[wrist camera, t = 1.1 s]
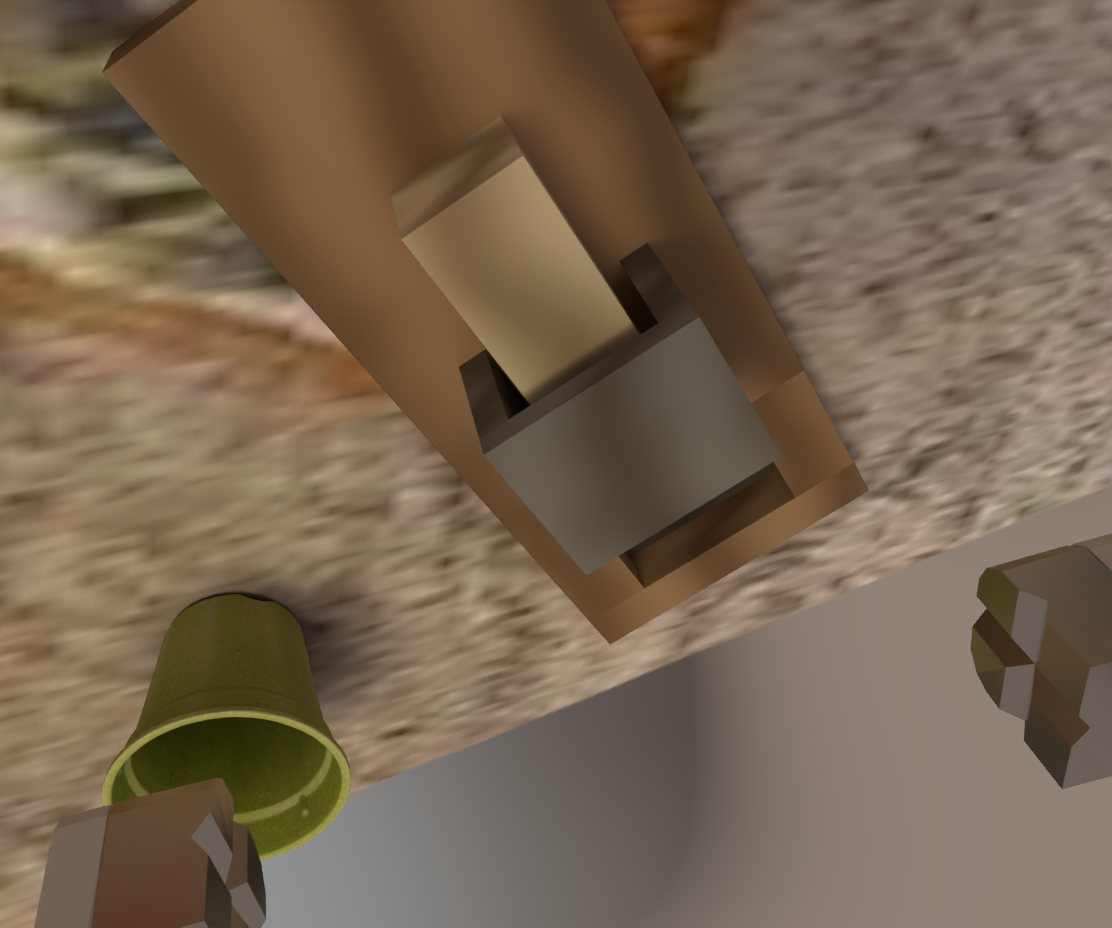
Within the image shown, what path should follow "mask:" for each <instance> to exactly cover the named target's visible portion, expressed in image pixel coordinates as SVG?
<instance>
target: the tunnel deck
mask: <svg viewBox="0 0 1112 928" xmlns="http://www.w3.org/2000/svg"><path fill="white" fill-rule="evenodd" d="M102 73H103V75H104V76H105V77H106V78H107V79H108V80H109V81H110V82H111V84H112V85H113V86H114V87H115V88H116V89H117V90H118V91H119V93H120V94H121V95H122V96H123V97H124V98H125V99H126V100H127V102H128V103H129V104H130V105H131V106H132V107H133V108H134V109H135V111H136V112H137V113H138V114H139V115H140V116H141V117H142V118H143V120H144V121H145V122H146V123H147V124H148V125H149V126H150V127H151V129H152V130H153V131H154V132H155V133H156V134H157V135H158V136H159V138H160V139H161V140H162V141H163V142H164V143H165V144H166V145H167V147H168V148H169V149H170V150H171V151H172V152H173V153H174V154H175V156H176V157H177V158H178V159H179V160H180V161H181V162H182V163H183V165H184V166H185V167H186V168H187V169H188V170H189V171H190V172H191V174H192V175H193V176H194V177H195V178H196V179H197V180H198V181H199V183H200V184H201V185H202V186H203V187H204V188H205V189H206V190H207V192H208V193H209V194H210V195H211V196H212V197H213V198H214V199H215V201H216V202H217V203H218V204H219V205H220V206H221V207H222V208H223V210H224V211H225V212H226V213H227V214H228V215H229V216H230V217H231V219H232V220H233V221H234V222H235V223H236V224H237V225H238V226H239V228H240V229H241V230H242V231H243V232H244V233H245V234H246V235H247V237H248V238H249V239H250V240H251V241H252V242H253V243H254V244H255V246H256V247H257V248H258V249H259V250H260V251H261V252H262V253H263V255H264V256H265V257H266V258H267V259H268V260H269V261H270V262H271V264H272V265H273V266H274V267H275V268H276V269H277V270H278V271H279V272H280V274H281V275H282V276H283V277H284V278H285V279H286V280H287V281H288V283H289V284H290V285H291V286H292V287H293V288H294V289H295V290H296V292H297V293H298V294H299V295H300V296H301V297H302V298H303V299H304V301H305V302H306V303H307V304H308V305H309V306H310V307H311V308H312V310H313V311H314V312H315V313H316V314H317V315H318V316H319V317H320V319H321V320H322V321H323V322H324V323H325V324H326V325H327V326H328V328H329V329H330V330H331V331H332V332H333V333H334V334H335V335H336V337H337V338H338V339H339V340H340V341H341V342H342V343H343V344H344V346H345V347H346V348H347V349H348V350H349V351H350V352H351V353H352V355H353V356H354V357H355V358H356V359H357V360H358V361H359V362H360V364H361V365H362V366H363V367H364V368H365V369H366V370H367V371H368V373H369V374H370V375H371V376H372V377H373V378H374V379H375V380H376V382H377V383H378V384H379V385H380V386H381V387H382V388H383V389H384V391H385V392H386V393H387V394H388V395H389V396H390V397H391V398H392V400H393V401H394V402H395V403H396V404H397V405H398V406H399V407H400V409H401V410H402V411H403V412H404V413H405V414H406V415H407V416H408V418H409V419H410V420H411V421H412V422H413V423H414V424H415V425H416V427H417V428H418V429H419V430H420V431H421V432H422V433H423V434H424V436H425V437H426V438H427V439H428V440H429V441H430V442H431V443H432V445H433V446H434V447H435V448H436V449H437V450H438V451H439V452H440V454H441V455H442V456H443V457H444V458H445V459H446V460H447V461H448V463H449V464H450V465H451V466H452V467H453V468H454V469H455V470H456V472H457V473H458V474H459V475H460V476H461V477H462V478H463V479H464V481H465V482H466V483H467V484H468V485H469V486H470V487H471V488H472V490H473V491H474V492H475V493H476V494H477V495H478V496H479V497H480V499H481V500H482V501H483V502H484V503H485V504H486V505H487V506H488V508H489V509H490V510H491V511H492V512H493V513H494V514H495V515H496V517H497V518H498V519H499V520H500V521H501V522H502V523H503V524H504V526H505V527H506V528H507V529H508V530H509V531H510V532H511V533H512V535H513V536H514V537H515V538H516V539H517V540H518V541H519V542H520V544H521V545H522V546H523V547H524V548H525V549H526V550H527V551H528V553H529V554H530V555H531V556H532V557H533V558H534V559H535V560H536V562H537V563H538V564H539V565H540V566H541V567H542V568H543V569H544V571H545V572H546V573H547V574H548V575H549V576H550V577H551V578H552V580H553V581H554V582H555V583H556V584H557V585H558V586H559V587H560V589H561V590H562V591H563V592H564V593H565V594H566V595H567V596H568V598H569V599H570V600H571V601H572V602H573V603H574V604H575V605H576V607H577V608H578V609H579V610H580V611H581V612H582V613H583V614H584V616H585V617H586V618H587V619H588V620H589V621H590V622H591V623H592V625H593V626H594V627H595V628H596V629H597V630H598V631H599V632H600V634H601V635H602V636H603V637H604V638H605V639H606V640H607V641H608V643H609V644H612V643H613V642H615V641H617V640H619V639H620V638H622V637H624V636H625V635H627V634H629V633H630V632H632V631H634V630H635V629H637V628H639V627H640V626H642V625H644V624H645V623H647V622H649V621H650V620H652V619H654V618H656V617H657V616H659V615H661V614H662V613H664V612H666V611H667V610H669V609H671V608H672V607H674V606H676V605H677V604H679V603H681V602H682V601H684V600H686V599H687V598H689V597H691V596H693V595H694V594H696V593H698V592H699V591H701V590H703V589H704V588H706V587H708V586H709V585H711V584H713V583H714V582H716V581H718V580H719V579H721V578H723V577H724V576H726V575H728V574H729V573H731V572H733V571H735V570H736V569H738V568H740V567H741V566H743V565H745V564H746V563H748V562H750V561H751V560H753V559H755V558H756V557H758V556H760V555H761V554H763V553H765V552H766V551H768V550H770V549H772V548H773V547H775V546H777V545H778V544H780V543H782V542H783V541H785V540H787V539H788V538H790V537H792V536H793V535H795V534H797V533H798V532H800V531H802V530H803V529H805V528H807V527H808V526H810V525H812V524H814V523H815V522H817V521H819V520H820V519H822V518H824V517H825V516H827V515H829V514H830V513H832V512H834V511H835V510H837V509H839V508H840V507H842V506H844V505H845V504H847V503H849V502H851V501H852V500H854V499H856V498H857V497H859V496H861V495H862V494H864V493H866V492H867V491H869V490H868V488H867V486H866V484H865V482H864V480H863V478H862V477H861V475H860V473H859V471H858V469H857V467H856V465H855V464H854V462H853V460H852V458H851V456H850V454H849V452H848V451H847V449H846V447H845V445H844V443H843V441H842V439H841V438H840V436H839V434H838V432H837V430H836V428H835V426H834V425H833V423H832V421H831V419H830V417H829V415H828V413H827V412H826V410H825V408H824V406H823V404H822V402H821V400H820V399H819V397H818V395H817V393H816V391H815V389H814V387H813V385H812V384H811V382H810V380H809V378H808V376H807V374H806V372H805V371H804V369H803V367H802V365H801V363H800V361H799V359H798V358H797V356H796V354H795V352H794V350H793V348H792V346H791V345H790V343H789V341H788V339H787V337H786V335H785V333H784V332H783V330H782V328H781V326H780V324H779V322H778V320H777V319H776V317H775V315H774V313H773V311H772V309H771V307H770V306H769V304H768V302H767V300H766V298H765V296H764V294H763V292H762V291H761V289H760V287H759V285H758V283H757V281H756V279H755V278H754V276H753V274H752V272H751V270H750V268H749V266H748V265H747V263H746V261H745V259H744V257H743V255H742V253H741V252H740V250H739V248H738V246H737V244H736V242H735V240H734V239H733V237H732V235H731V233H730V231H729V229H728V227H727V226H726V224H725V222H724V220H723V218H722V216H721V214H720V213H719V211H718V209H717V207H716V205H715V203H714V201H713V199H712V198H711V196H710V194H709V192H708V190H707V188H706V186H705V185H704V183H703V181H702V179H701V177H700V175H699V173H698V172H697V170H696V168H695V166H694V164H693V162H692V160H691V159H690V157H689V155H688V153H687V151H686V149H685V147H684V146H683V144H682V142H681V140H680V138H679V136H678V134H677V133H676V131H675V129H674V127H673V125H672V123H671V121H670V120H669V118H668V116H667V114H666V112H665V110H664V108H663V107H662V105H661V103H660V101H659V99H658V97H657V95H656V93H655V92H654V90H653V88H652V86H651V84H650V82H649V80H648V79H647V77H646V75H645V73H644V71H643V69H642V67H641V66H640V64H639V62H638V60H637V58H636V56H635V54H634V53H633V51H632V49H631V47H630V45H629V43H628V41H627V40H626V38H625V36H624V34H623V32H622V30H621V28H620V27H619V25H618V23H617V21H616V19H615V17H614V15H613V14H612V12H611V10H610V8H609V6H608V4H607V2H606V0H180V1H179V2H177V3H176V4H175V5H173V6H172V7H171V8H169V9H168V10H167V11H165V12H164V13H163V14H161V15H160V16H159V17H157V18H156V19H155V20H154V21H152V22H151V23H150V24H148V25H147V26H146V27H144V28H143V29H142V30H140V31H139V32H138V33H136V34H135V35H134V36H132V37H131V38H130V39H129V40H127V41H126V42H125V43H123V44H122V45H121V46H119V47H118V48H117V49H115V50H114V51H113V52H112V53H111V55H110V58H109V60H108V62H107V64H106V66H105V68H104V70H103V72H102ZM499 116H501V117H502V119H503V120H504V122H505V123H506V125H507V126H508V128H509V129H510V131H511V132H512V134H513V136H514V137H515V139H516V140H517V142H518V143H519V145H520V146H521V148H522V149H523V151H524V153H525V154H526V156H527V157H528V159H529V160H530V162H531V163H532V165H533V166H534V168H535V169H536V171H537V173H538V174H539V176H540V177H541V179H542V180H543V182H544V183H545V185H546V186H547V188H548V189H549V191H550V193H551V194H552V196H553V197H554V199H555V200H556V202H557V203H558V205H559V206H560V208H561V210H562V211H563V213H564V214H565V216H566V217H567V219H568V220H569V222H570V223H571V225H572V226H573V228H574V230H575V231H576V233H577V234H578V236H579V237H580V239H581V240H582V242H583V243H584V245H585V247H586V248H587V250H588V251H589V253H590V254H591V256H592V257H593V259H594V260H595V262H596V263H597V265H598V267H599V268H600V270H601V271H602V273H603V274H604V276H605V277H606V279H607V280H608V282H609V283H610V285H611V287H612V288H613V290H614V291H615V293H616V294H617V296H618V297H619V299H620V300H621V302H622V304H623V305H624V307H625V308H626V310H627V311H628V313H629V314H630V316H631V317H632V319H633V320H634V322H635V324H636V325H637V327H638V328H639V330H640V331H641V333H642V334H641V335H639V336H638V337H636V338H635V339H633V340H632V341H630V342H628V343H627V344H625V345H624V346H622V347H621V348H619V349H618V350H616V351H614V352H613V353H611V354H610V355H608V356H607V357H605V358H604V359H602V360H600V361H599V362H597V363H596V364H594V365H593V366H591V367H590V368H588V369H587V370H585V371H583V372H582V373H580V374H579V375H577V376H576V377H574V378H573V379H571V380H569V381H568V382H566V383H565V384H563V385H562V386H560V387H559V388H557V389H555V390H554V391H552V392H551V393H549V394H548V395H546V396H545V397H543V398H541V399H540V400H538V401H537V402H535V403H534V404H532V405H530V404H529V403H528V401H527V400H526V399H525V397H524V396H523V395H522V394H521V392H520V391H519V390H518V388H517V387H516V386H515V385H514V383H513V382H512V381H511V379H510V378H509V377H508V376H507V374H506V373H505V372H504V370H503V369H502V368H501V367H500V365H499V364H498V363H497V361H496V360H495V359H494V358H493V356H492V355H491V354H490V352H489V351H488V350H487V349H486V347H485V346H484V345H483V343H482V342H481V341H480V340H479V338H478V337H477V336H476V334H475V333H474V332H473V331H472V329H471V328H470V327H469V326H468V324H467V323H466V322H465V320H464V319H463V318H462V317H461V315H460V314H459V313H458V311H457V310H456V309H455V308H454V306H453V305H452V304H451V302H450V301H449V300H448V299H447V297H446V296H445V295H444V293H443V292H442V291H441V290H440V288H439V287H438V286H437V284H436V283H435V282H434V281H433V279H432V278H431V277H430V275H429V274H428V273H427V272H426V270H425V269H424V268H423V266H422V265H421V264H420V263H419V261H418V260H417V259H416V257H415V256H414V255H413V254H412V252H411V251H410V250H409V249H408V247H407V246H406V245H405V243H404V242H403V241H402V240H401V236H400V232H399V228H398V224H397V219H396V215H395V211H394V207H393V203H392V199H391V194H390V192H392V191H393V190H394V189H396V188H397V187H399V186H400V185H402V184H403V183H404V182H406V181H407V180H409V179H410V178H412V177H413V176H414V175H416V174H417V173H419V172H420V171H422V170H423V169H425V168H426V167H427V166H429V165H430V164H432V163H433V162H435V161H436V160H437V159H439V158H440V157H442V156H443V155H445V154H446V153H447V152H449V151H450V150H452V149H453V148H455V147H456V146H457V145H459V144H460V143H462V142H463V141H465V140H466V139H468V138H469V137H470V136H472V135H473V134H475V133H476V132H478V131H479V130H480V129H482V128H483V127H485V126H486V125H488V124H489V123H490V122H492V121H493V120H495V119H496V118H498V117H499Z"/></svg>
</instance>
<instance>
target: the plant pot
mask: <svg viewBox="0 0 1112 928" xmlns="http://www.w3.org/2000/svg"><path fill="white" fill-rule="evenodd" d="M214 778H220V779H223V781H224V783H225V785H226V786H227V788H228V790H229V792H230V794H231V796H232V797H233V799H234V802H233V821H235V822H237V823H239V824H242V825H244V826H246V827H248V829H249V832H250V834H251V836H252V838H253V840H254V842H255V845H256V848H257V852H258V855H259V858H260V861H264V860H266V859H270V858H272V857H275V856H278V855H281V854H284V853H286V852H289V851H291V850H294V849H296V848H298V847H300V846H302V845H304V844H305V843H307V842H309V841H310V840H312V839H313V838H315V837H316V836H317V835H318V834H319V833H321V832H322V831H323V830H324V829H326V828H327V827H328V826H329V825H330V824H331V823H332V822H333V821H334V819H335V818H336V817H337V815H338V814H339V813H340V811H341V810H342V808H343V807H344V805H345V803H346V801H347V798H348V795H349V792H350V787H351V773H350V767H349V763H348V760H347V758H346V755H345V753H344V752H343V750H342V749H341V747H340V746H339V744H338V743H337V742H336V741H335V740H334V739H333V737H332V734H331V732H330V730H329V728H328V726H327V724H326V723H325V722H324V720H323V717H322V713H321V709H320V705H319V701H318V697H317V693H316V689H315V685H314V681H313V677H312V672H311V668H310V663H309V658H308V654H307V650H306V646H305V641H304V637H303V633H302V630H301V627H300V625H299V623H298V622H297V620H296V619H295V618H294V616H293V615H292V614H291V613H290V612H289V611H288V610H286V609H285V608H284V607H282V606H281V605H279V604H277V603H275V602H272V601H259V600H254V599H251V598H248V597H245V596H242V595H240V594H230V595H222V596H216V597H212V598H209V599H206V600H203V601H200V602H198V603H196V604H194V605H192V606H190V607H189V608H187V609H186V610H184V611H183V612H182V613H181V614H180V615H179V616H178V617H177V618H176V619H175V620H174V622H173V623H172V625H171V627H170V629H169V630H168V632H167V634H166V636H165V639H164V642H163V646H162V649H161V652H160V655H159V658H158V661H157V665H156V668H155V671H154V675H153V678H152V681H151V684H150V687H149V691H148V694H147V697H146V700H145V704H144V707H143V710H142V713H141V716H140V719H139V722H138V725H137V728H136V730H135V731H134V732H133V734H132V735H131V737H130V738H129V740H128V742H127V744H126V746H125V748H124V749H123V750H122V751H121V752H120V753H119V754H118V755H117V757H116V758H115V759H114V761H113V762H112V764H111V766H110V768H109V770H108V772H107V774H106V777H105V780H104V783H103V788H102V805H103V806H107V805H111V804H114V803H116V802H120V801H124V800H128V799H132V798H136V797H141V796H145V795H149V794H153V793H157V792H161V791H165V790H169V789H173V788H177V787H181V786H185V785H190V784H194V783H198V782H202V781H206V780H210V779H214Z"/></svg>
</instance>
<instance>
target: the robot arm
mask: <svg viewBox="0 0 1112 928" xmlns="http://www.w3.org/2000/svg"><path fill="white" fill-rule="evenodd" d="M977 597H978V598H979V599H980V601H981V602H982V603H983V604H984V605H985V607H986V608H987V609H986V610H985V612H984V613H983V614H982V615H981V616H980V618H979V619H978V620H977V621H976V623H975V624H974V625H973V628H972V640H971V652H972V656H973V660H974V664H975V668H976V672H977V674H978V676H979V678H980V680H981V682H982V684H983V686H984V688H985V690H986V692H987V693H988V694H989V696H990V697H991V698H992V700H993V701H994V702H995V704H996V705H997V706H998V708H999V709H1001V710H1003V711H1005V712H1007V713H1010V714H1012V715H1014V716H1016V717H1018V718H1020V719H1022V720H1024V721H1025V731H1024V741H1025V742H1026V744H1027V745H1028V746H1029V748H1030V749H1031V750H1032V751H1033V752H1034V754H1035V755H1036V757H1037V758H1038V759H1039V760H1040V762H1041V763H1042V764H1043V765H1044V767H1045V768H1046V769H1047V770H1048V772H1049V773H1050V774H1051V776H1052V777H1053V778H1054V779H1055V781H1056V782H1057V783H1058V785H1059V786H1060V787H1061V788H1062V789H1064V788H1068V787H1072V786H1076V785H1079V784H1083V783H1087V782H1091V781H1095V780H1098V779H1102V778H1106V777H1109V776H1112V534H1108V535H1105V536H1101V537H1097V538H1093V539H1090V540H1086V541H1083V542H1079V543H1075V544H1073V545H1071V546H1063V547H1059V548H1056V549H1052V550H1049V551H1045V552H1042V553H1039V554H1035V555H1031V556H1028V557H1024V558H1021V559H1018V560H1014V561H1010V562H1007V563H1003V564H999V565H996V566H993V567H989V568H987V569H986V570H985V571H984V573H983V574H982V575H981V577H980V579H979V584H978V590H977ZM233 802H234V799H233V797H232V796H231V794H230V792H229V790H228V788H227V786H226V785H225V783H224V781H223V779H220V778H214V779H210V780H206V781H202V782H198V783H194V784H190V785H185V786H181V787H177V788H173V789H169V790H165V791H161V792H157V793H153V794H149V795H145V796H141V797H136V798H132V799H128V800H124V801H120V802H116V803H114V804H111V805H107V806H103V807H99V808H95V809H91V810H87V811H83V812H79V813H75V814H71V815H67V816H63V817H62V818H61V820H60V821H59V823H58V825H57V827H56V828H55V830H54V832H53V833H52V839H51V844H50V849H49V854H48V859H47V864H46V869H45V875H44V880H43V885H42V890H41V895H40V900H39V905H38V911H37V916H36V921H35V926H34V928H261V927H262V925H263V924H264V922H265V920H266V893H265V886H264V879H263V872H262V866H261V861H260V858H259V855H258V852H257V848H256V845H255V842H254V840H253V838H252V836H251V834H250V832H249V829H248V827H246V826H244V825H242V824H239V823H237V822H235V821H233Z"/></svg>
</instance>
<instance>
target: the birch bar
mask: <svg viewBox="0 0 1112 928" xmlns="http://www.w3.org/2000/svg"><path fill="white" fill-rule="evenodd" d="M390 194H391V199H392V203H393V207H394V211H395V215H396V219H397V224H398V228H399V232H400V236H401V240H402V241H403V242H404V243H405V245H406V246H407V247H408V249H409V250H410V251H411V252H412V254H413V255H414V256H415V257H416V259H417V260H418V261H419V263H420V264H421V265H422V266H423V268H424V269H425V270H426V272H427V273H428V274H429V275H430V277H431V278H432V279H433V281H434V282H435V283H436V284H437V286H438V287H439V288H440V290H441V291H442V292H443V293H444V295H445V296H446V297H447V299H448V300H449V301H450V302H451V304H452V305H453V306H454V308H455V309H456V310H457V311H458V313H459V314H460V315H461V317H462V318H463V319H464V320H465V322H466V323H467V324H468V326H469V327H470V328H471V329H472V331H473V332H474V333H475V334H476V336H477V337H478V338H479V340H480V341H481V342H482V343H483V345H484V346H485V347H486V349H487V350H488V351H489V352H490V354H491V355H492V356H493V358H494V359H495V360H496V361H497V363H498V364H499V365H500V367H501V368H502V369H503V370H504V372H505V373H506V374H507V376H508V377H509V378H510V379H511V381H512V382H513V383H514V385H515V386H516V387H517V388H518V390H519V391H520V392H521V394H522V395H523V396H524V397H525V399H526V400H527V401H528V403H529V404H530V405H532V404H534V403H535V402H537V401H538V400H540V399H541V398H543V397H545V396H546V395H548V394H549V393H551V392H552V391H554V390H555V389H557V388H559V387H560V386H562V385H563V384H565V383H566V382H568V381H569V380H571V379H573V378H574V377H576V376H577V375H579V374H580V373H582V372H583V371H585V370H587V369H588V368H590V367H591V366H593V365H594V364H596V363H597V362H599V361H600V360H602V359H604V358H605V357H607V356H608V355H610V354H611V353H613V352H614V351H616V350H618V349H619V348H621V347H622V346H624V345H625V344H627V343H628V342H630V341H632V340H633V339H635V338H636V337H638V336H639V335H641V334H642V333H641V331H640V330H639V328H638V327H637V325H636V324H635V322H634V320H633V319H632V317H631V316H630V314H629V313H628V311H627V310H626V308H625V307H624V305H623V304H622V302H621V300H620V299H619V297H618V296H617V294H616V293H615V291H614V290H613V288H612V287H611V285H610V283H609V282H608V280H607V279H606V277H605V276H604V274H603V273H602V271H601V270H600V268H599V267H598V265H597V263H596V262H595V260H594V259H593V257H592V256H591V254H590V253H589V251H588V250H587V248H586V247H585V245H584V243H583V242H582V240H581V239H580V237H579V236H578V234H577V233H576V231H575V230H574V228H573V226H572V225H571V223H570V222H569V220H568V219H567V217H566V216H565V214H564V213H563V211H562V210H561V208H560V206H559V205H558V203H557V202H556V200H555V199H554V197H553V196H552V194H551V193H550V191H549V189H548V188H547V186H546V185H545V183H544V182H543V180H542V179H541V177H540V176H539V174H538V173H537V171H536V169H535V168H534V166H533V165H532V163H531V162H530V160H529V159H528V157H527V156H526V154H525V153H524V151H523V149H522V148H521V146H520V145H519V143H518V142H517V140H516V139H515V137H514V136H513V134H512V132H511V131H510V129H509V128H508V126H507V125H506V123H505V122H504V120H503V119H502V117H501V116H499V117H498V118H496V119H495V120H493V121H492V122H490V123H489V124H488V125H486V126H485V127H483V128H482V129H480V130H479V131H478V132H476V133H475V134H473V135H472V136H470V137H469V138H468V139H466V140H465V141H463V142H462V143H460V144H459V145H457V146H456V147H455V148H453V149H452V150H450V151H449V152H447V153H446V154H445V155H443V156H442V157H440V158H439V159H437V160H436V161H435V162H433V163H432V164H430V165H429V166H427V167H426V168H425V169H423V170H422V171H420V172H419V173H417V174H416V175H414V176H413V177H412V178H410V179H409V180H407V181H406V182H404V183H403V184H402V185H400V186H399V187H397V188H396V189H394V190H393V191H392V192H390Z"/></svg>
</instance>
